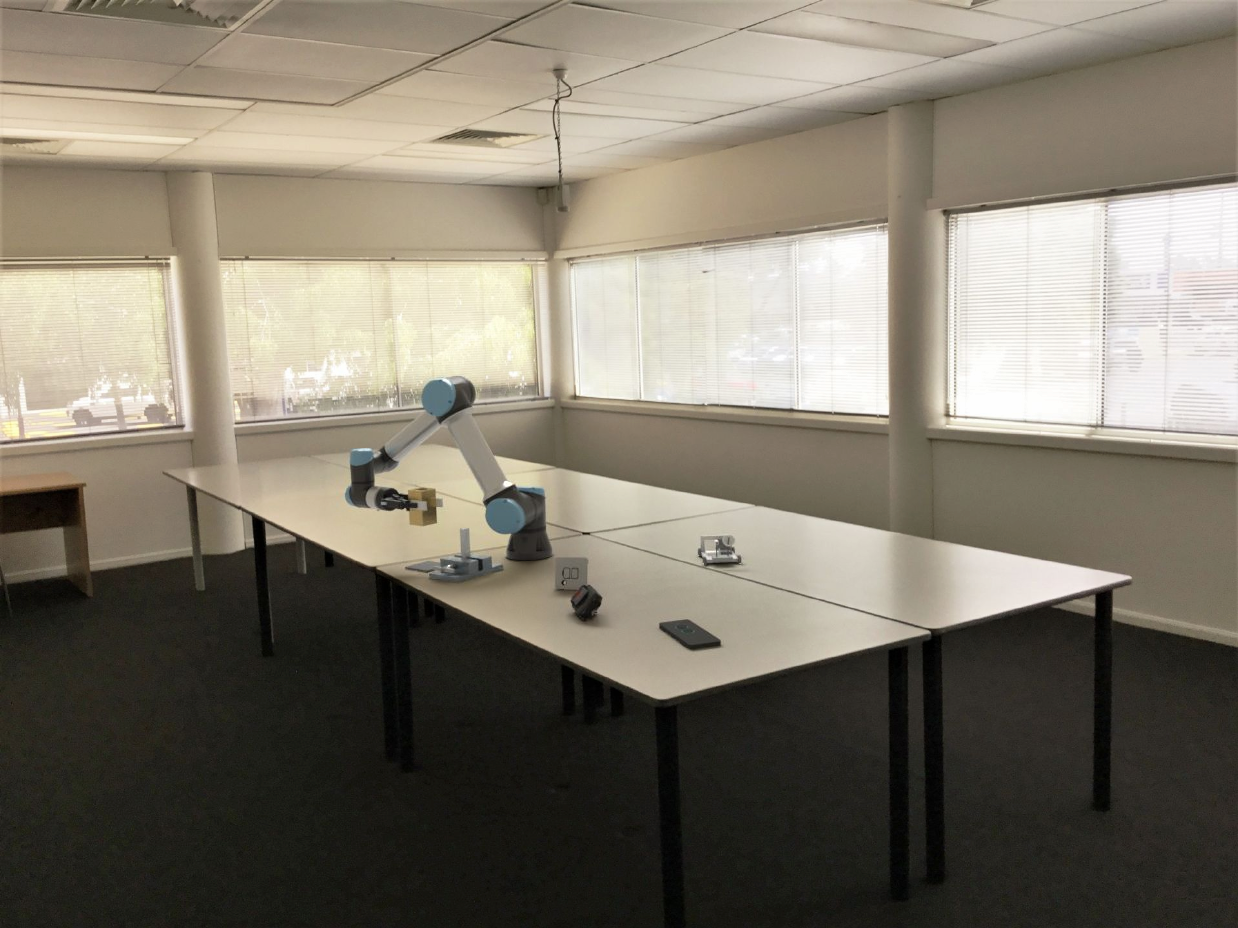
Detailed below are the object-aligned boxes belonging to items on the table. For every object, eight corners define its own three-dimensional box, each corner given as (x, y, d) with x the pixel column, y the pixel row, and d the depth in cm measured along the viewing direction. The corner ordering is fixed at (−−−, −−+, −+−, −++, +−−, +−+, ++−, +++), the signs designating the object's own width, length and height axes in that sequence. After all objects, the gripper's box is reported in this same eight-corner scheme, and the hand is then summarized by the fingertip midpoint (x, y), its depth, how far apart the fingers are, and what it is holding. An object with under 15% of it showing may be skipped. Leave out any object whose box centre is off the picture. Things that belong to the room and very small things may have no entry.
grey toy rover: (742, 536, 315) (704, 537, 315) (742, 567, 317) (705, 569, 316) (733, 525, 333) (697, 526, 333) (733, 555, 334) (697, 556, 334)
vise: (475, 564, 329) (473, 521, 328) (503, 569, 322) (501, 524, 321) (429, 578, 313) (426, 532, 312) (457, 582, 306) (455, 536, 305)
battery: (586, 614, 274) (565, 601, 272) (604, 589, 274) (583, 576, 271) (594, 631, 263) (572, 617, 261) (613, 605, 262) (591, 591, 260)
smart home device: (688, 618, 257) (722, 640, 239) (688, 624, 258) (722, 647, 239) (657, 622, 255) (689, 644, 236) (657, 629, 255) (689, 651, 236)
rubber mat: (428, 562, 335) (428, 560, 335) (450, 565, 329) (450, 564, 329) (405, 568, 327) (404, 566, 327) (427, 572, 321) (427, 570, 321)
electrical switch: (554, 590, 294) (554, 557, 294) (559, 587, 299) (559, 555, 299) (586, 591, 292) (586, 558, 292) (590, 588, 298) (590, 556, 297)
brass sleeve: (423, 521, 330) (422, 487, 329) (437, 523, 327) (435, 488, 326) (409, 524, 326) (407, 489, 324) (422, 526, 322) (421, 491, 321)
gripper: (406, 505, 344) (456, 511, 331) (361, 514, 329) (411, 521, 315) (405, 483, 343) (455, 488, 330) (359, 491, 328) (410, 497, 314)
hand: (433, 504), depth 322 cm, fingers closed on brass sleeve, 6 cm apart
